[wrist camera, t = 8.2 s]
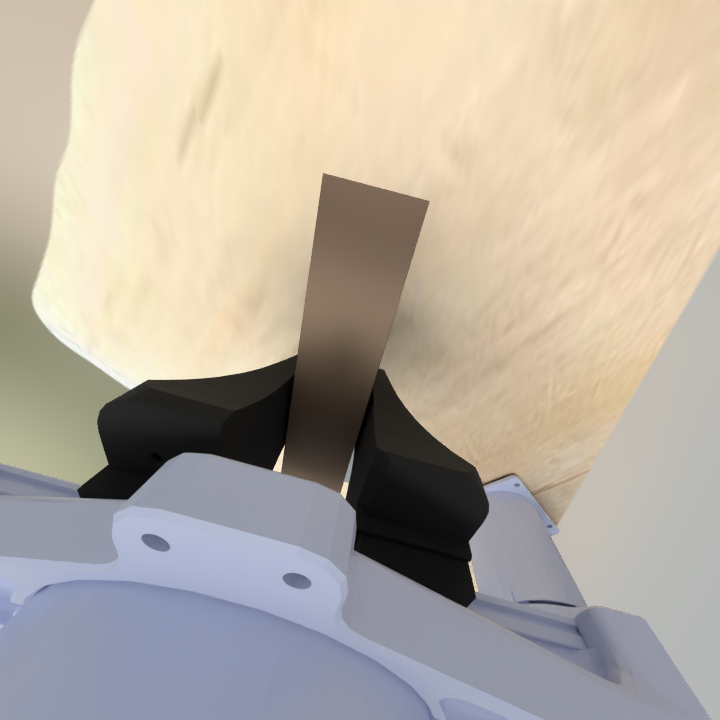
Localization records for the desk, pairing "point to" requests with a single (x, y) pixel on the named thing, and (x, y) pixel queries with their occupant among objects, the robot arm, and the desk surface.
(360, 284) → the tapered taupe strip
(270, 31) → the desk surface
